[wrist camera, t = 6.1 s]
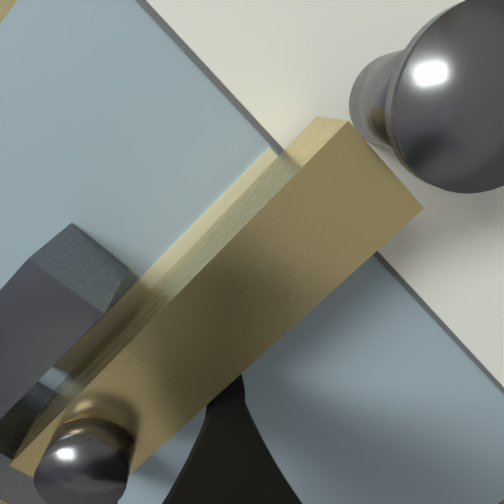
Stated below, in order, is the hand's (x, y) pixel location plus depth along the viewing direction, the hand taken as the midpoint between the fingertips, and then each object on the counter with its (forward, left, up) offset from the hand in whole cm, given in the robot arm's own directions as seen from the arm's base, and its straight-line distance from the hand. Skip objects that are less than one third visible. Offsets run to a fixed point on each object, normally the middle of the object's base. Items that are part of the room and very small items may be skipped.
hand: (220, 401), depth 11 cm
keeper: (-2, +4, -2) cm, 4 cm away
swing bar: (+2, +2, 0) cm, 3 cm away
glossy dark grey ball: (+8, +3, -2) cm, 9 cm away
